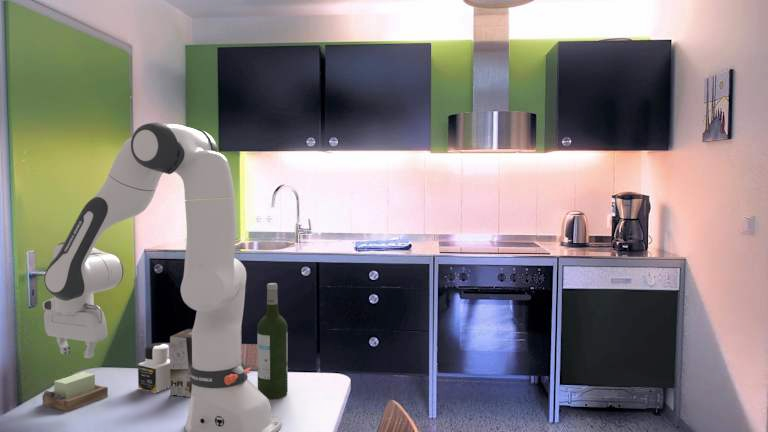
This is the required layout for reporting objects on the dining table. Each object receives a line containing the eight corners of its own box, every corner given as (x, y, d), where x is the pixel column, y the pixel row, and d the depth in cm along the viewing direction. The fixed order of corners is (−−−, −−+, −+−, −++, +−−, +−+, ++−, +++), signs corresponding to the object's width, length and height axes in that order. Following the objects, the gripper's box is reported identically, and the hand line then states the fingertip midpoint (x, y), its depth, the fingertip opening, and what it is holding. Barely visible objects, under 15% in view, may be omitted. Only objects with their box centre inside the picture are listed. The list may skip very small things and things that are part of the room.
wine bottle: (293, 391, 149) (293, 282, 148) (276, 401, 142) (275, 287, 141) (269, 387, 152) (269, 280, 151) (251, 396, 145) (250, 284, 144)
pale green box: (94, 393, 145) (94, 374, 144) (66, 403, 137) (65, 383, 137) (83, 390, 147) (83, 371, 146) (54, 400, 139) (54, 381, 139)
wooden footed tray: (107, 396, 145) (107, 382, 145) (66, 412, 134) (65, 397, 134) (82, 390, 149) (82, 377, 149) (40, 405, 139) (40, 390, 139)
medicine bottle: (137, 389, 151) (137, 346, 150) (159, 381, 157) (158, 340, 156) (155, 393, 147) (155, 349, 147) (176, 385, 154) (176, 343, 153)
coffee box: (191, 397, 144) (190, 337, 144) (169, 395, 146) (168, 336, 145) (208, 385, 153) (208, 329, 153) (188, 384, 155) (187, 327, 154)
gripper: (112, 302, 139) (115, 356, 140) (61, 298, 148) (64, 348, 149) (89, 307, 134) (92, 363, 134) (38, 302, 143) (41, 354, 143)
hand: (77, 355), depth 142 cm, fingers open, 8 cm apart
